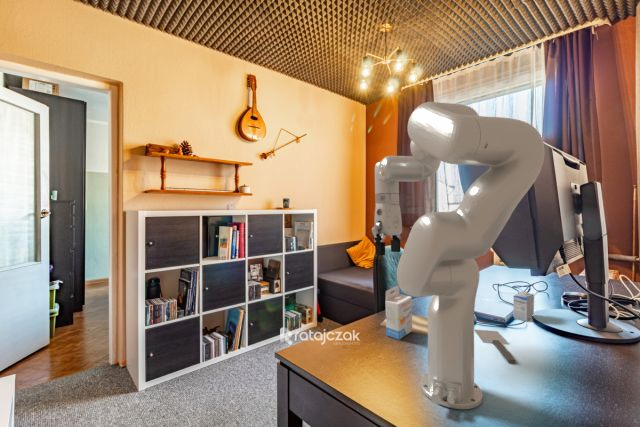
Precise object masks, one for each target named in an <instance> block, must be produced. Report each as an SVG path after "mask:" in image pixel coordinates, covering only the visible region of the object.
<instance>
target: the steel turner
mask: <svg viewBox="0 0 640 427" xmlns="http://www.w3.org/2000/svg"><path fill="white" fill-rule="evenodd" d="M474 333H475V334H476V335H477V336H478V337H479V339H480V340H481V342H482V343H488V344H493V345H494V346H495V348H496V349H497V350H498V351H499V353H500V354H501V355H502V357H503V358H504V359H505V360H506V361H507V363H508V364H512V365H513V364H514V365H516V364H517V360H516V359H515V358H514V356H513V355H512V354H511V353H510V351H508V350H507V348H506V347H505V346H504V345H509V342H508V341H507V340H506V339H505V338H504V337H503V335H501V333H500V332H499V331H497V330H486V329H485V330H484V329H474Z"/></svg>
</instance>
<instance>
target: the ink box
mask: <svg viewBox="0 0 640 427" xmlns="http://www.w3.org/2000/svg"><path fill="white" fill-rule="evenodd" d="M412 315H413V297H412V296H409V295H407V294H401V293H400V287H399V284H398V285H396V286H394V287H392V288H390V289H387V290H385V319H386V327H385V328H386V334H385V336H387V337H389V338H390V337H391V338H392V339H396V340H398V341H400V340H401V339H403V338H404V337H405V336H407V335H409V334H410V333H412V332H411V331H412Z"/></svg>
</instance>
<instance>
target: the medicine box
mask: <svg viewBox="0 0 640 427" xmlns="http://www.w3.org/2000/svg"><path fill="white" fill-rule="evenodd" d="M534 304H535V295H534V293H531V292H525V291H524V292H523V291H520V292H518V293H516V294H515V295H513V304H512V305H513V306H512V307H513V310H512V311H513V314H512V316H513V317H514V318H513V317H512V318H513V319H514V320H517V321H518V320H519V321H522V322H528V321H530V320H531V319H532V318H533V317H532V315H533V314H535V312H534V309H535V307H534V306H535V305H534Z"/></svg>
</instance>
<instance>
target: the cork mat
mask: <svg viewBox="0 0 640 427" xmlns="http://www.w3.org/2000/svg"><path fill="white" fill-rule="evenodd" d="M379 326H380V327H384V328H386V318H385V319H384V320H383V321H382V322H381V323H379ZM410 333H413V334H417V335H422V336H427V337H428V316H424V315H416V314H412V331H411V332H410Z"/></svg>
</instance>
